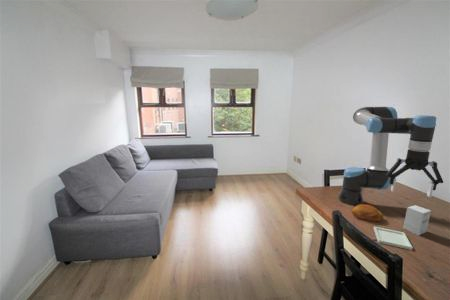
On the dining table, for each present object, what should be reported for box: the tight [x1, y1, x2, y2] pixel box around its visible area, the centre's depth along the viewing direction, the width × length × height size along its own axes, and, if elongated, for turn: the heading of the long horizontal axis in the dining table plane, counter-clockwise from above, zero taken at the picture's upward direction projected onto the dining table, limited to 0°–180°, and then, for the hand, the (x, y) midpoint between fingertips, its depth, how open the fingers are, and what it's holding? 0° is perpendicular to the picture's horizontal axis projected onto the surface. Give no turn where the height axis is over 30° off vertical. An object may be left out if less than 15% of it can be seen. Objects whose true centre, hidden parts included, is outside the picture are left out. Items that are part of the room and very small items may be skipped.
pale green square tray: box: [373, 226, 413, 251], centre depth 108 cm, size 13×13×1 cm
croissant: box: [351, 203, 384, 222], centre depth 129 cm, size 14×16×8 cm
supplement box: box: [403, 204, 432, 236], centre depth 114 cm, size 7×7×13 cm
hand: (410, 193), depth 102 cm, fingers open, 13 cm apart
